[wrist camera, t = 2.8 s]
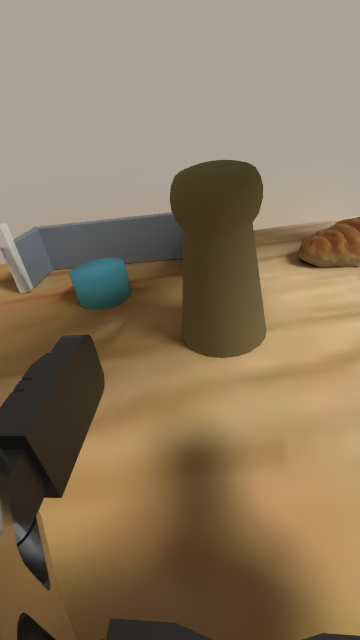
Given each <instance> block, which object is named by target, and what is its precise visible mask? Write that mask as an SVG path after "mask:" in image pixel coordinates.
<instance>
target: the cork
mask: <svg viewBox="0 0 360 640" xmlns="http://www.w3.org/2000/svg"><path fill="white" fill-rule="evenodd" d="M262 198H263V184H262V180H261V176H260V174H259V172H258V171H257V169H256V167H254V166H253V165H251V164H249V163H247V162H241V161H234V160H217V161H209V162H204V163H200V164H197V165H194V166H191V167H189V168H187V169H184V170H182V171H180V172H179V173H178V174H177V175H176V176H175V177H174V180H173V182H172V185H171V192H170V203H171V210H172V213H173V216H174V218H175V221H176V222H177V223H178V224H179V225H180V226H181V228H182V229H183V305H182V339H183V341H184V342H185V344H186V345H187V346H188V347H189V348H190V349H192V350H193V351H195V352H197V353H200V354H203V355H206V356H211V357H221V358H223V357H232V356H238V355H241V354H244V353H247V352H250V351H252V350H253V349H255V348H256V347H258V346H259V345H260V344H261V343H262V341H263V340H264V339H265V335H266V325H265V317H264V310H263V302H262V294H261V286H260V278H259V271H258V263H257V255H256V247H255V240H254V232H253V225H252V222H253V221H254V219H255V218H256V216H257V215H258V213H259V209H260V206H261V203H262Z"/></svg>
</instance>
